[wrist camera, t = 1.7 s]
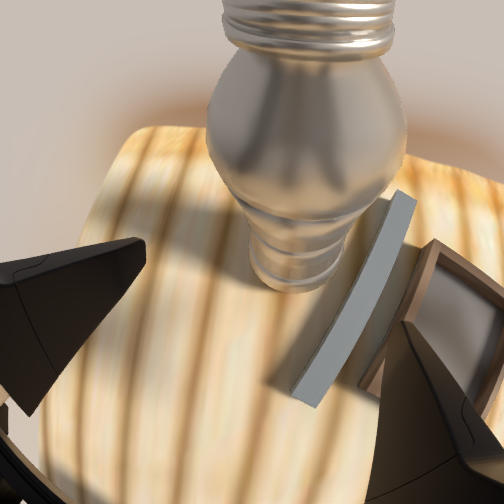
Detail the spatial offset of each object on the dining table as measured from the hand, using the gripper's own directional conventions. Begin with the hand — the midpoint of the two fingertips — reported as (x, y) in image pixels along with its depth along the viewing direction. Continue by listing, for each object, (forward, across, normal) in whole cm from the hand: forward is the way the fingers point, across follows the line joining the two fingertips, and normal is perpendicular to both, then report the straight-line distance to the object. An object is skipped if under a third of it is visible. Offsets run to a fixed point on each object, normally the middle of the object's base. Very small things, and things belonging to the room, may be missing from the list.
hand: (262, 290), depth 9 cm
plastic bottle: (+12, 0, +6) cm, 14 cm away
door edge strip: (+12, -6, +6) cm, 14 cm away
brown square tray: (+10, -15, +8) cm, 20 cm away
